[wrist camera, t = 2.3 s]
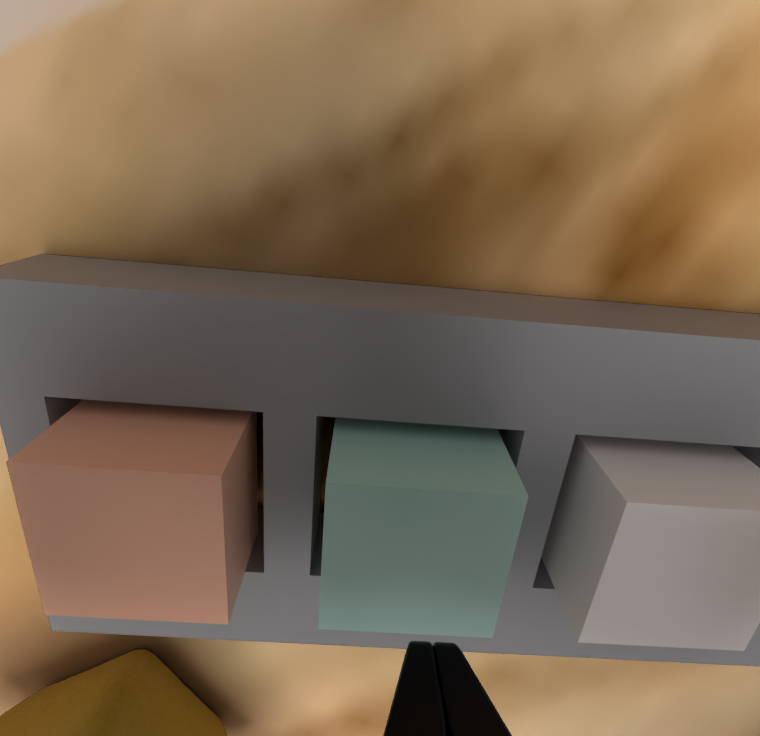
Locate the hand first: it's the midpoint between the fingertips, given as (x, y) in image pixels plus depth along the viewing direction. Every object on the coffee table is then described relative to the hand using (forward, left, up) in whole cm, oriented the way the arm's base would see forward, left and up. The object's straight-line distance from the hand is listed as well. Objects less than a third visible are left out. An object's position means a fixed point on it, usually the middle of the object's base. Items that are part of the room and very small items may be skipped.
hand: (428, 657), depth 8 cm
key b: (-6, 0, -5) cm, 8 cm away
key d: (+6, 0, -5) cm, 8 cm away
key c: (0, 0, -5) cm, 5 cm away
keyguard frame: (-3, 0, -6) cm, 7 cm away
